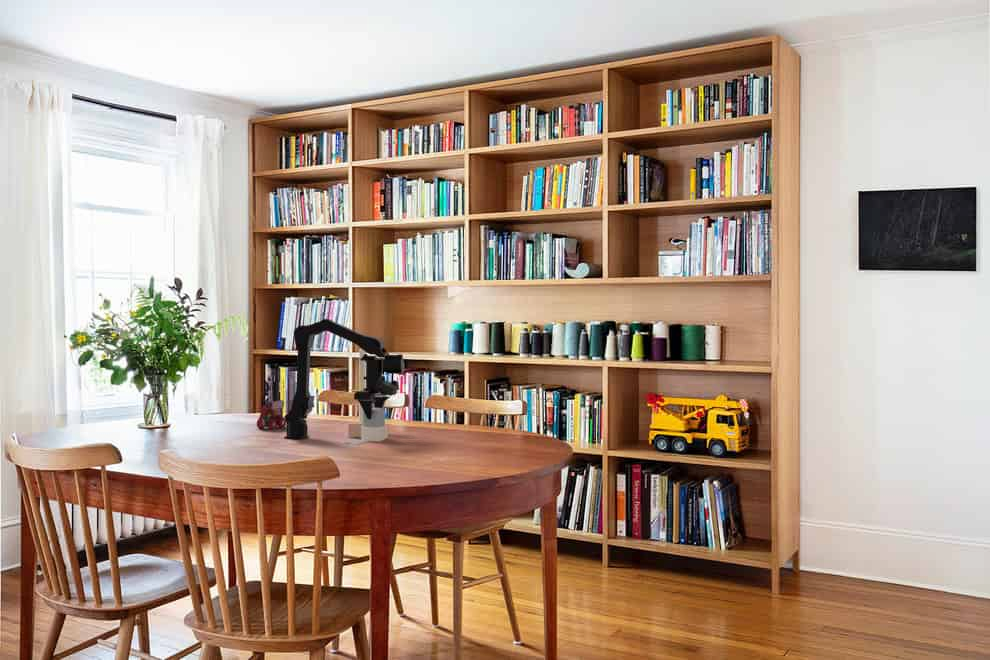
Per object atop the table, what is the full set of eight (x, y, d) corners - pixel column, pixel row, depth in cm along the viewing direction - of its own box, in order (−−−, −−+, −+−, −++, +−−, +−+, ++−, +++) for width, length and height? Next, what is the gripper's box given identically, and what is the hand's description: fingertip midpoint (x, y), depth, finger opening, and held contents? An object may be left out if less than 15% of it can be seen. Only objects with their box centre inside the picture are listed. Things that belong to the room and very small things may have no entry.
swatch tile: (341, 443, 298) (341, 442, 298) (351, 440, 305) (351, 439, 305) (359, 444, 296) (359, 443, 296) (368, 441, 302) (368, 440, 302)
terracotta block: (348, 437, 311) (348, 423, 311) (351, 435, 316) (351, 421, 316) (362, 437, 311) (362, 423, 311) (365, 435, 316) (365, 421, 316)
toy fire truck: (252, 429, 329) (252, 402, 329) (275, 425, 340) (275, 398, 340) (267, 431, 326) (267, 403, 325) (289, 426, 337) (289, 399, 336)
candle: (363, 433, 321) (363, 344, 320) (342, 431, 326) (343, 343, 325) (381, 430, 329) (381, 343, 328) (360, 428, 334) (360, 342, 333)
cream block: (361, 441, 304) (361, 426, 304) (368, 438, 311) (368, 424, 311) (379, 442, 303) (379, 427, 302) (387, 439, 309) (387, 424, 309)
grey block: (377, 427, 303) (377, 410, 303) (363, 426, 305) (363, 409, 305) (384, 425, 308) (384, 408, 308) (371, 424, 310) (370, 407, 310)
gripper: (382, 376, 295) (382, 422, 295) (406, 372, 312) (406, 416, 313) (353, 375, 298) (353, 420, 299) (378, 371, 316) (378, 414, 316)
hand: (374, 418), depth 307 cm, fingers open, 7 cm apart
